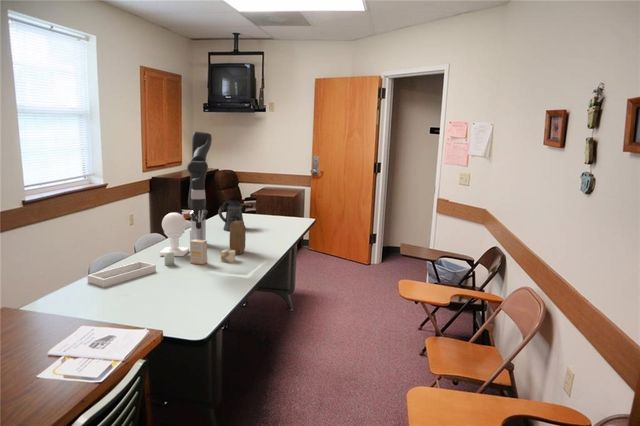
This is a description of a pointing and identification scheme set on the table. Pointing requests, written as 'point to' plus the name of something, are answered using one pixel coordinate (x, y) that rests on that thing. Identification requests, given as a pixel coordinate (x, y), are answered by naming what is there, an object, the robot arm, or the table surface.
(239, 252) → the block
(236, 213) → the beer stein
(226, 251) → the light wooden cube
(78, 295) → the table surface
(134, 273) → the tray
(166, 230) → the trophy
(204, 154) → the robot arm
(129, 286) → the table surface
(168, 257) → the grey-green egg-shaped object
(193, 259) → the supplement box
